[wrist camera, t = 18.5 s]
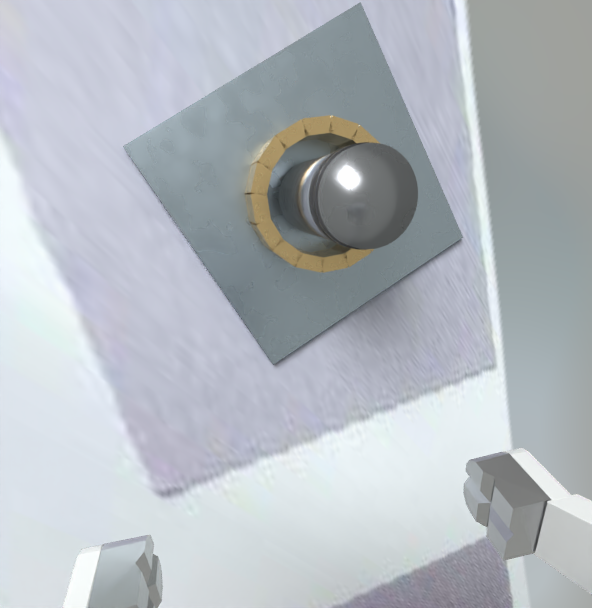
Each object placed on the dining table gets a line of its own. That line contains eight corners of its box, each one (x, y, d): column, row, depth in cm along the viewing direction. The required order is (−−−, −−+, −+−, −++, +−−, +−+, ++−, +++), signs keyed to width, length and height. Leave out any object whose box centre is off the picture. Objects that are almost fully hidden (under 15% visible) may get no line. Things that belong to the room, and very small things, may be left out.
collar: (459, 236, 34) (488, 240, 31) (272, 362, 33) (281, 380, 29) (357, 5, 28) (380, -21, 25) (124, 147, 27) (114, 140, 23)
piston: (360, 210, 31) (435, 215, 21) (300, 248, 30) (351, 271, 21) (326, 144, 29) (392, 119, 20) (263, 184, 29) (299, 177, 19)
